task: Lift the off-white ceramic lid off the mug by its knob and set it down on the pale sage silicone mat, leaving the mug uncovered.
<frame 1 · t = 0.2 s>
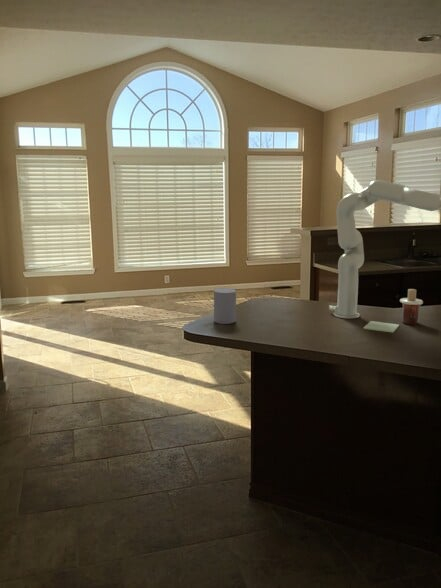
mat: (381, 327, 239), on the countertop
mug: (410, 324, 245), on the countertop, touching lid
lid: (411, 302, 243), point 10 cm above the countertop, touching mug
container: (224, 322, 248), on the countertop
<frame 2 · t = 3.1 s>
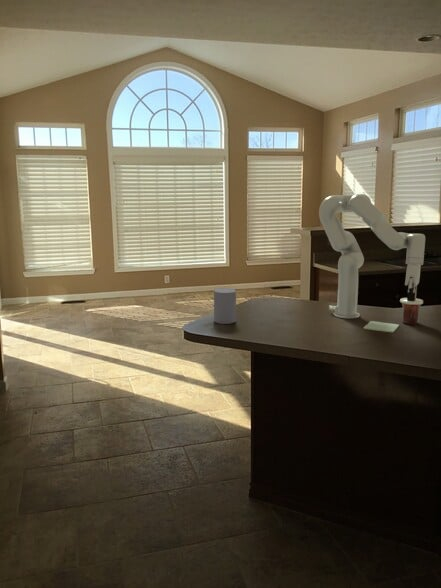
hand: (411, 299, 243), 12 cm above the countertop, fingers closed on lid, 3 cm apart
mug: (410, 324, 245), on the countertop
lid: (411, 302, 243), point 10 cm above the countertop, touching gripper
everything else where it was.
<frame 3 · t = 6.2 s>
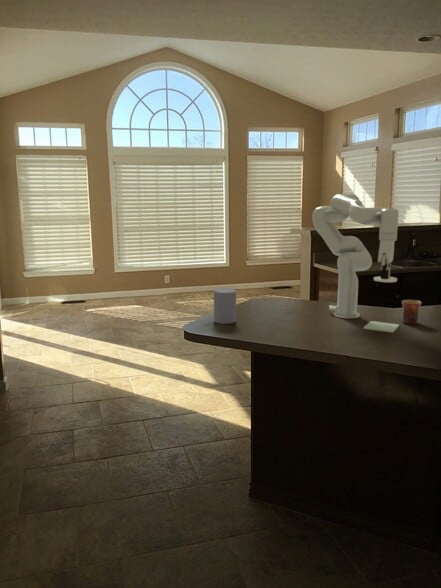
hand: (385, 277, 234), 23 cm above the countertop, fingers closed on lid, 3 cm apart
lid: (385, 280, 234), point 22 cm above the countertop, touching gripper
everything else where it was.
when the fingers open (3 cm above the countertop, at t = 9.0 s): lid drops 1 cm, resting on mat.
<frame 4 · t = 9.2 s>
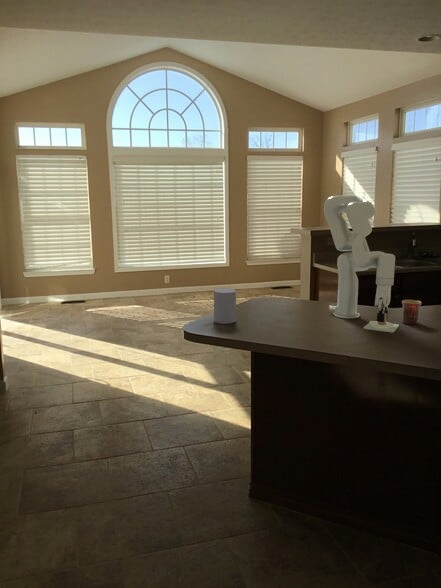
hand: (382, 319, 238), 3 cm above the countertop, fingers open, 5 cm apart
lid: (381, 326, 239), point 1 cm above the countertop, touching mat
everything else where it was.
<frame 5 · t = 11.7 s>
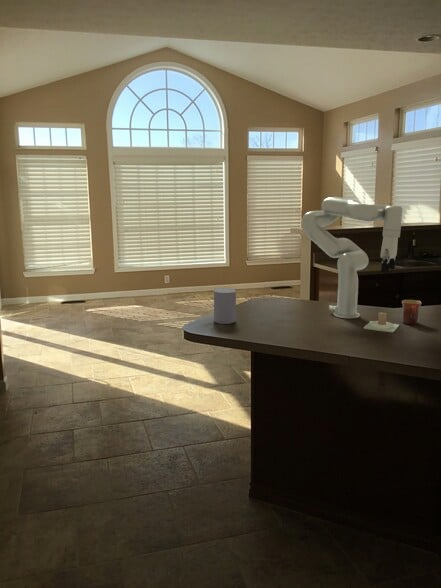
hand: (387, 270, 240), 25 cm above the countertop, fingers open, 9 cm apart
nothing on the countertop moved.
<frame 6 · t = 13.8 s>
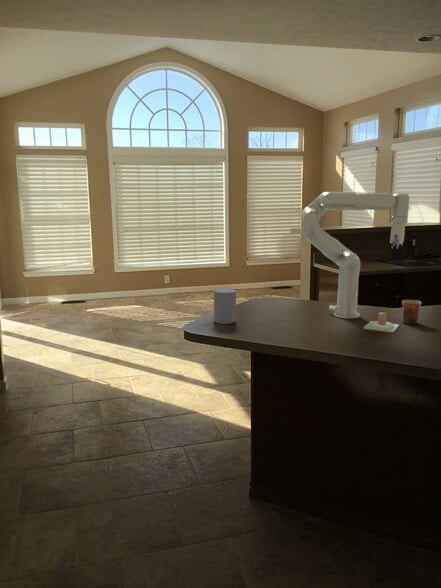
hand: (396, 255, 252), 30 cm above the countertop, fingers open, 9 cm apart
nothing on the countertop moved.
at the end: lid inside the target area on the mat (0.0 cm from its centre), point 0.6 cm above the mat's base; lid touching mat; mug moved 0.2 cm from its start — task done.
